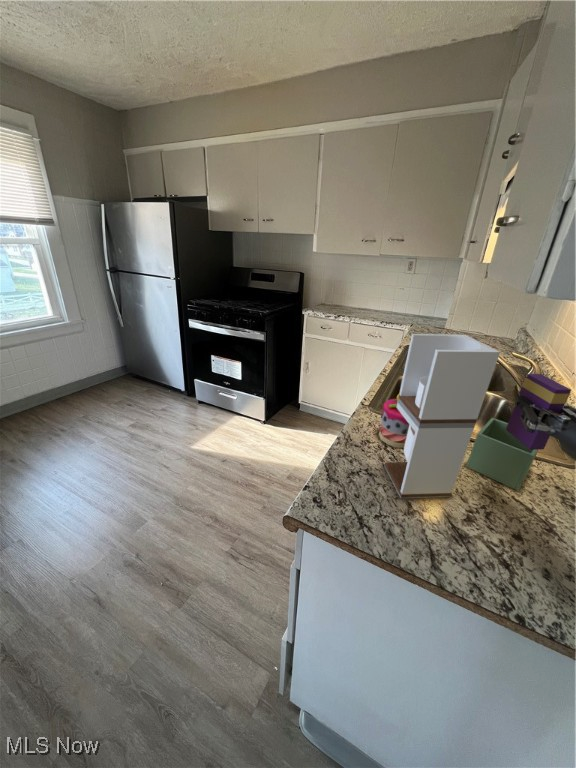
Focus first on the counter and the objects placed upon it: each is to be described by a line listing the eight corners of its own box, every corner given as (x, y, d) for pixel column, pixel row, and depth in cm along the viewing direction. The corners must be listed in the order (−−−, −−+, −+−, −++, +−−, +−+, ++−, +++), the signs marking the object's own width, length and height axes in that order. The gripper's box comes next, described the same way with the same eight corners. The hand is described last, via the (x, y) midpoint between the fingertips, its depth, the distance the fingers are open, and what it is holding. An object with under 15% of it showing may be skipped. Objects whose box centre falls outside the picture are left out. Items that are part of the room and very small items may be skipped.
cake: (371, 430, 94) (379, 386, 88) (403, 428, 96) (413, 384, 89) (387, 452, 85) (397, 404, 78) (422, 449, 87) (435, 401, 80)
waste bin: (528, 471, 80) (544, 436, 75) (517, 493, 72) (534, 456, 68) (479, 450, 87) (491, 417, 82) (465, 469, 80) (477, 433, 75)
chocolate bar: (518, 429, 67) (540, 373, 62) (544, 449, 61) (572, 389, 55) (505, 429, 67) (526, 373, 61) (530, 449, 61) (556, 389, 55)
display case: (427, 468, 80) (465, 334, 65) (449, 499, 70) (500, 352, 55) (383, 468, 79) (411, 333, 64) (400, 501, 69) (438, 351, 54)
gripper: (665, 432, 47) (566, 383, 62) (576, 433, 46) (498, 382, 61) (639, 472, 50) (551, 415, 65) (556, 473, 49) (487, 415, 65)
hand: (526, 400), depth 63 cm, fingers closed on chocolate bar, 3 cm apart
